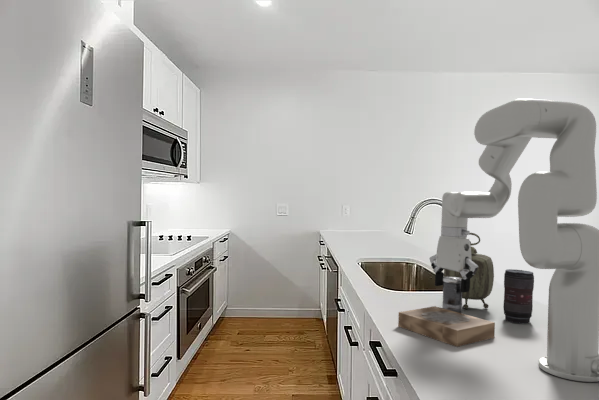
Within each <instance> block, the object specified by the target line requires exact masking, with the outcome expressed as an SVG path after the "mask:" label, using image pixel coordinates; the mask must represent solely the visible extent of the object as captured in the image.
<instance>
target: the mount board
mask: <svg viewBox="0 0 599 400" xmlns="http://www.w3.org/2000/svg"><path fill="white" fill-rule="evenodd" d="M397 323H398V327H400V328H401V329H402V328H403V329H405V330H408V331H410V332H414V333H416V334H418V335H422V336H425V337H427V338H431V339H433V340H436V341H439V342H442V343H445V344H447V345H450V346H454V347H457V348H458V347H461V346H466V345H470V344H474V343H479V342H482V341H487V340H491V339H495V336H496V334H495V333H496V332H495V331H496V330H495V329H496V327H495V326H496V322H494V321H490V320H487V319H483V318H479V317H476V316H472V315H468V314H465V313H463V312H462V313H458V312H454V311H451V310H447V309H443V308H442V307H440V306H439V307H438V306H436V305H434V306H428V307H422V308H415V309H410V310H404V311H399V312H398V322H397ZM490 338H491V339H490Z"/></svg>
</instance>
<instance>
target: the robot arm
mask: <svg viewBox="0 0 599 400" xmlns="http://www.w3.org/2000/svg"><path fill="white" fill-rule="evenodd" d="M473 130H474V131H473V132H474V133H473V135H474V138H475V141H476V142H477V143H479V144H480V145H482V146H485V148H484V150H483V152H482V153H481V155H480V156H479V158H478V166H479V168H480V169H481V170H482V171H483V172H484V173H485V174H486V175H488V176H490V177H491V178H493V179H494V182H493V184H492V185H491V187H490V189H489V190H488V191H487V192H485V191H447V192H444V193H443V194H442V201H441V222H440V223H441V225H440V227H441V228H440V236H439V238H438V241H437V247H436V254H434V255H432V256H430V257H429V262H430V265H431V268H432V269H433V271H432V272H433V273H434V276H435V277H434V286H435V287H440V286H443V277H444V269H448V270H452V271H458V272H460V274H461V275H462V277H463V279H461V292H463V293H464V292H469V289H470V279H471V278H472V277H473V276H474V275H475V274H476V271H477V269H478V265H477V264H475V263H474V262H473V261H472V260H471V247H472V246H471V245H470V238H468V236H469V234H470V233H471V231H470V230H468V221H469V219H491V218H494V217H496V216H497V215H498V214H499V213H500V212H501V211H502V210H503V209H504V207H505V205H506V204H507V203H508V201H509V199H510V198H511V194H512V178H511V175H510V172H511V171H512V169H513V168H514V167H515V165H516V163H517V162H518V160H519V158H520V157H521V155H522V154H523V152H524V151H525V150H526V147H527V145H528V144H529V143H530V141H531V140H532V138H535V139H536V138H537V139H556V140H555V142H554V143H553V145H552V147H551V150H550V152H549V153H550V154H549V171H536V172H534V173H531V174H529V175H528V176H527V177H525V178H524V179H523V181H522V183H521V185H520V188H519V191H518V197H517V210H518V211H517V212H518V213H517V214H518V237H519V238H518V239H519V249H520V253H521V256H522V258H523V260H524V261H525V262H526V263H527V265H528V266H530V267H533V268H535V269H537V270H538V269H539V270H554V272H553V274H552V276H551V279H550V281H549V285H548V286H549V287H548V301H547V302H548V305H547V307H548V309H547V334H546V335H547V338H546V340H547V341H546V356H543V357H540V358H539V359H538V367H539V368H540V369H541V370H542V371H544V372H546V373H548V374H550V375H553V376H555V377H559V378H562V379H566V380H570V381H576V382H584V383H587V382H588V383H594V382H597V383H598V382H599V229H598V228H596V227H595V226H592V225H590V224H585V223H578V222H577V223H575V222H573V223H571V222H569V223H567V222H566V223H565V222H560V223H559V222H558V218H562V217H563V218H564V217H565V218H575V217H584V216H587V215H589V214H591V213H592V212H593V211H594V209H595V208H596V205H597V199H598V195H597V194H598V192H597V173H596V172H597V170H596V169H597V168H596V157H595V156H596V153H595V152H596V151H595V150H596V149H595V148H596V146H595V145H596V139H597V122H596V118H595V116H594V114H593V112H592V110H591V109H590V108H588V107H587V106H585V105H583V104H579V103H575V102H570V101H569V102H568V101H562V100H551V99H550V100H549V99H538V98H537V99H536V98H517V99H514V100H511V101H508V102H506V103H504V104H502V105H500V106H496V107H494V108H492V109H489V110H488V111H486V112H484V113H483V114H482V115H481V116H480V117H479V118H478V120H477V122H476V123H475V126H474V129H473ZM469 270H470V271H469Z"/></svg>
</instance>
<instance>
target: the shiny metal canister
mask: <svg viewBox="0 0 599 400" xmlns="http://www.w3.org/2000/svg"><path fill="white" fill-rule="evenodd" d="M461 279H462V278H458V277H443V285H442V305H441V306H442V307H441V308H443V309H447V310H451V311H454V312H458V313H462V314H463V298H462V292H461Z"/></svg>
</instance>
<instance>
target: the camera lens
mask: <svg viewBox="0 0 599 400" xmlns="http://www.w3.org/2000/svg"><path fill="white" fill-rule="evenodd" d="M503 277H504V278H503V280H504V281H503V288H504V289H503V290H504V294H503V315H505V316H504V317H505V318H504V319H505V321H507V322H510V323H512V324H513V323H514V324H519V325H520V324H529V323H530V321H531V318H532V317H533V297H534V296H533V294H534V287H535V285H534V284H535V276H534V272H533V271H530V270H522V269H512V268H511V269H505V272H504V275H503Z"/></svg>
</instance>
